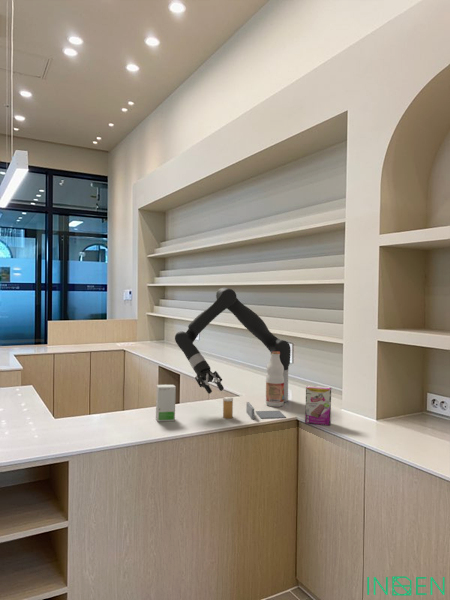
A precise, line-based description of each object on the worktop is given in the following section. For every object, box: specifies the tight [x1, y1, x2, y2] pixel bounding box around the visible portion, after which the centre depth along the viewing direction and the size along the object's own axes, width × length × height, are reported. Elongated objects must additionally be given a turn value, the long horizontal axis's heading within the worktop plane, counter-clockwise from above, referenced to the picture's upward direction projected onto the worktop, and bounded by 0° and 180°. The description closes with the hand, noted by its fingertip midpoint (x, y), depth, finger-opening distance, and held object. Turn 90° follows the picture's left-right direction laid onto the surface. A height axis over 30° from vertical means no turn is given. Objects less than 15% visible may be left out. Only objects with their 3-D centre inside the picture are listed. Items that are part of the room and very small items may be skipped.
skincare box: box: [155, 384, 177, 422], centre depth 204 cm, size 8×7×16 cm
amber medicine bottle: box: [222, 396, 234, 419], centre depth 209 cm, size 5×5×9 cm
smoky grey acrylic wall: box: [245, 401, 255, 421], centre depth 212 cm, size 13×1×5 cm, turn 8°
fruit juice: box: [265, 351, 285, 408], centre depth 233 cm, size 9×9×28 cm
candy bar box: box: [304, 385, 332, 426], centre depth 200 cm, size 11×5×16 cm, turn 74°
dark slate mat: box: [255, 410, 287, 420], centre depth 214 cm, size 12×12×1 cm
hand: (216, 391), depth 213 cm, fingers open, 8 cm apart
